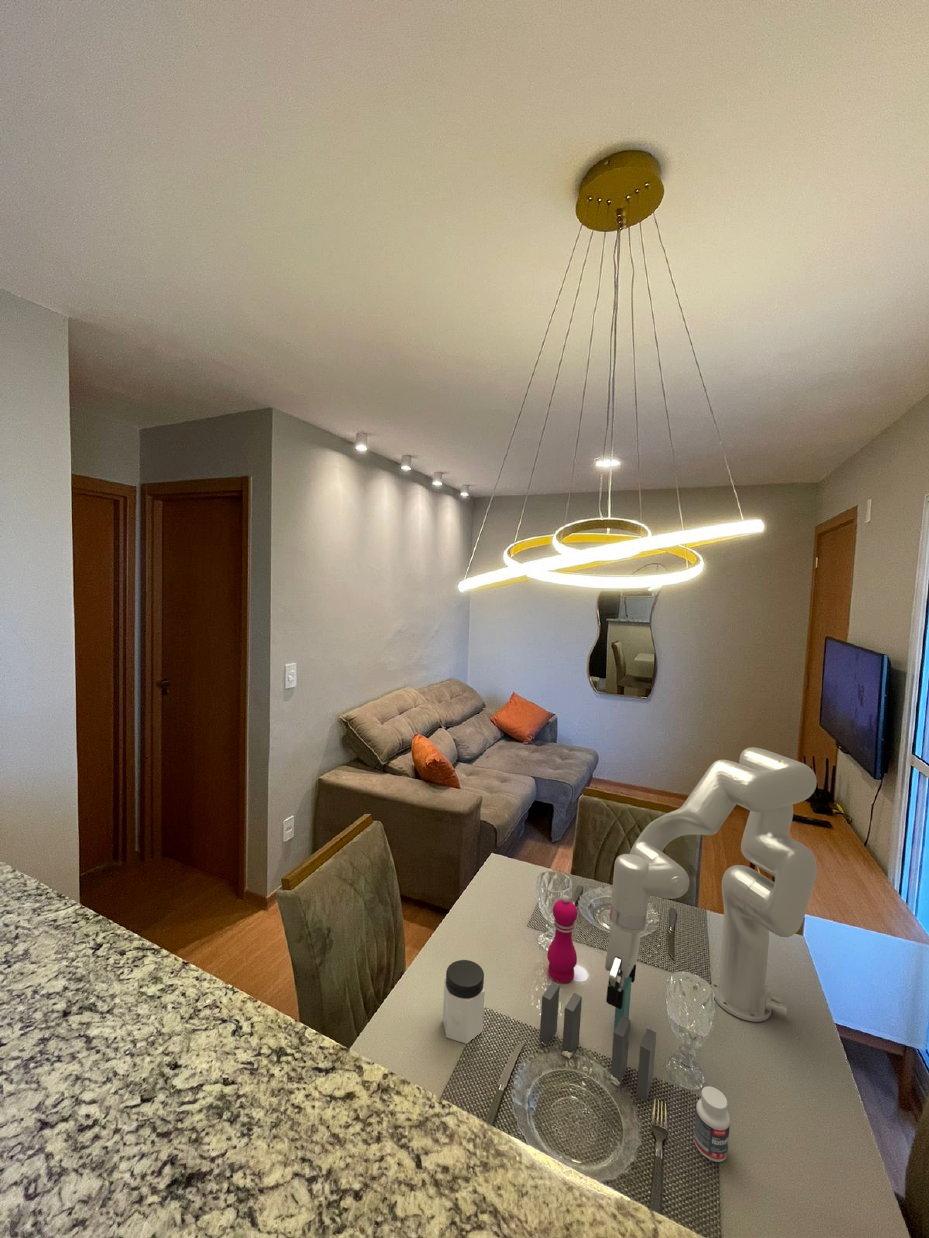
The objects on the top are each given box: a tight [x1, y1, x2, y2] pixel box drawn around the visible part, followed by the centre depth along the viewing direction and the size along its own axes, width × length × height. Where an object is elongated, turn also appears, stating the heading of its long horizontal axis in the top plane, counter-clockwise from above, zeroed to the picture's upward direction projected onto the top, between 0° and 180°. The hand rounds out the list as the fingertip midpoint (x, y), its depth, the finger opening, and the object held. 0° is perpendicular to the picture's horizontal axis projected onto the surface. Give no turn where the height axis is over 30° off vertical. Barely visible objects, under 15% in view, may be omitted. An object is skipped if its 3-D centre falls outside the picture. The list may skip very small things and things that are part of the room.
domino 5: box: [636, 1027, 657, 1103], centre depth 98 cm, size 2×5×10 cm, turn 147°
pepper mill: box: [546, 894, 578, 984], centre depth 128 cm, size 7×7×20 cm
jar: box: [442, 959, 486, 1045], centre depth 110 cm, size 9×8×12 cm
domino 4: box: [610, 1016, 631, 1083], centre depth 101 cm, size 2×5×10 cm, turn 147°
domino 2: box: [561, 992, 583, 1052], centre depth 107 cm, size 2×5×10 cm, turn 147°
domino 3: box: [613, 977, 632, 1031], centre depth 113 cm, size 2×5×10 cm, turn 147°
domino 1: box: [538, 981, 560, 1046], centre depth 109 cm, size 2×5×10 cm, turn 147°
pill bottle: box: [693, 1085, 731, 1163], centre depth 89 cm, size 5×5×9 cm
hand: (620, 991), depth 113 cm, fingers open, 9 cm apart
